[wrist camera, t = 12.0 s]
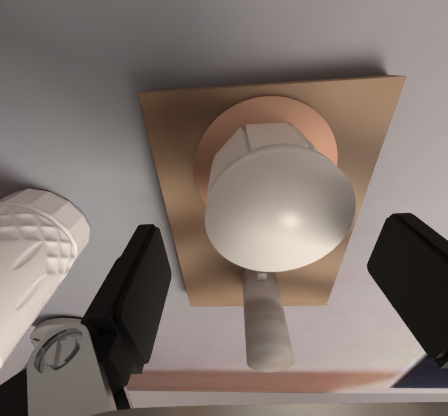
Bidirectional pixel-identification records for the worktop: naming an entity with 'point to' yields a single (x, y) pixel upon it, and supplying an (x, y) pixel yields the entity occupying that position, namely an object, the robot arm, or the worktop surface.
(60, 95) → the worktop surface
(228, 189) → the cap
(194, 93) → the post board
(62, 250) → the white cup
